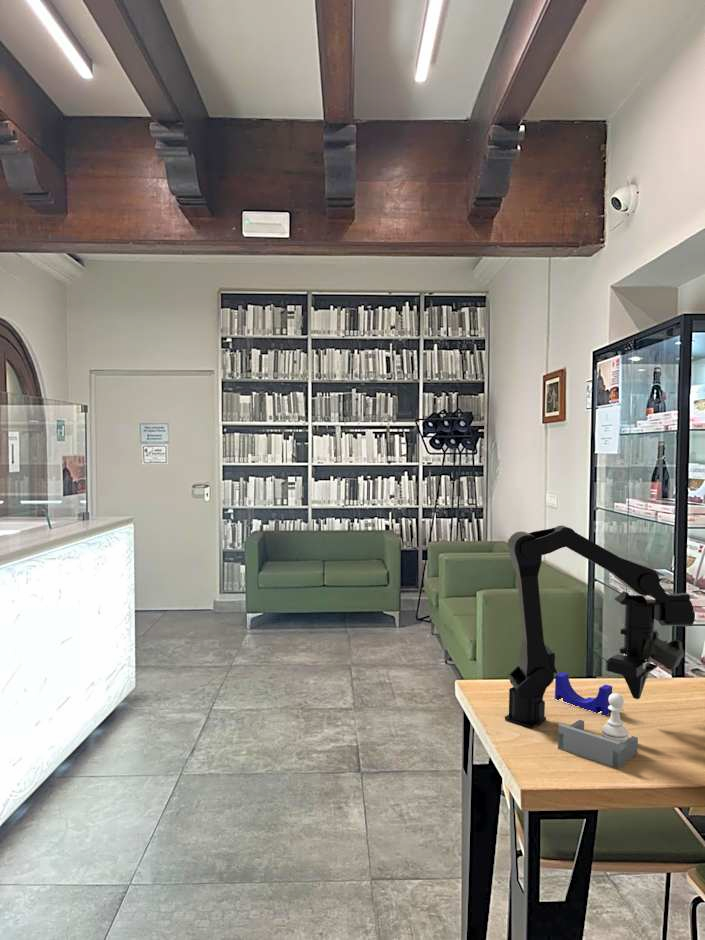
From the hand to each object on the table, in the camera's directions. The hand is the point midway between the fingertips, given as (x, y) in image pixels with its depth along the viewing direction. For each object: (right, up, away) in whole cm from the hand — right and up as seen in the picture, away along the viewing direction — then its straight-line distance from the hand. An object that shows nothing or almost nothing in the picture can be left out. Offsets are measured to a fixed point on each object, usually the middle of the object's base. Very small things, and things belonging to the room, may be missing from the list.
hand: (636, 698), depth 142 cm
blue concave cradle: (-8, -5, +9) cm, 13 cm away
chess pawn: (-8, -6, -8) cm, 12 cm away
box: (-13, -5, -13) cm, 20 cm away
